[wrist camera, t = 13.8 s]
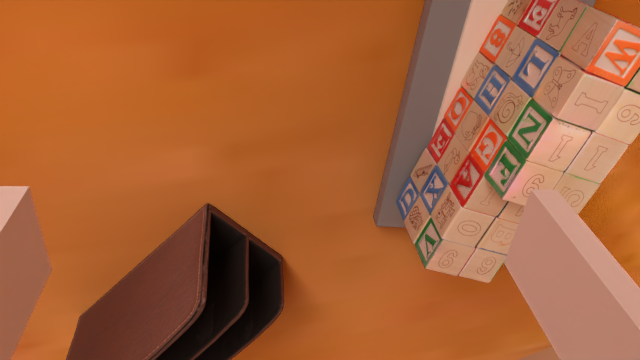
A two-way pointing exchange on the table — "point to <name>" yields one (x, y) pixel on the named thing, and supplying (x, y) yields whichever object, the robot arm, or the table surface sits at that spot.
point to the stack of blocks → (523, 131)
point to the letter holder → (187, 298)
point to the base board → (432, 87)
